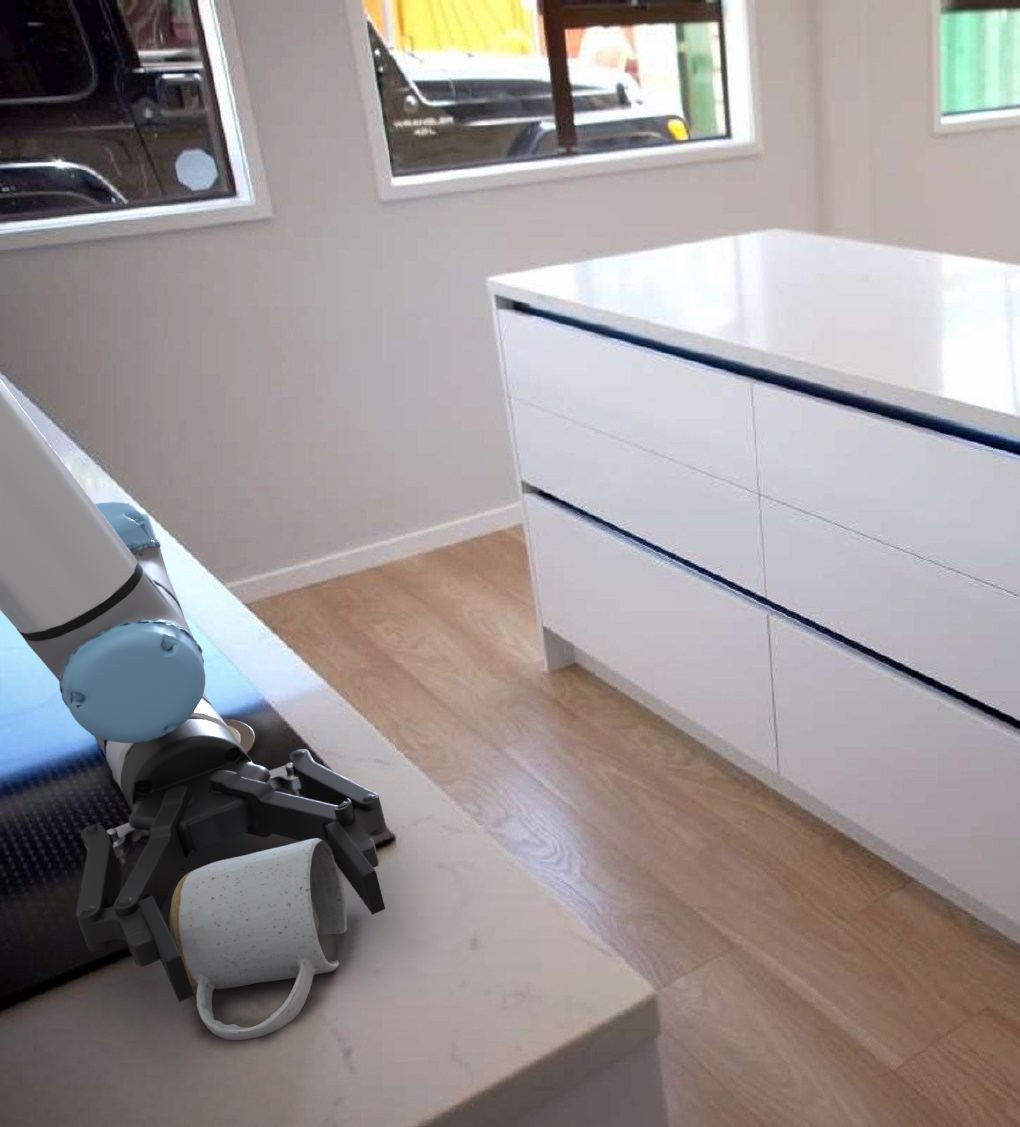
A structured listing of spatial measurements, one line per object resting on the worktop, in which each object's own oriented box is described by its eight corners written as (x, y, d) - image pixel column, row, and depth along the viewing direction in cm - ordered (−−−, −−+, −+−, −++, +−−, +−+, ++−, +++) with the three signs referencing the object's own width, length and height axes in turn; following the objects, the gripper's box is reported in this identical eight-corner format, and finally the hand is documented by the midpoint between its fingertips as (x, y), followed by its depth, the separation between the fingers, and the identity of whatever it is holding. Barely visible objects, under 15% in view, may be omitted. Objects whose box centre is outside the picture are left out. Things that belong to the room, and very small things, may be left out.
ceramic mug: (215, 937, 79) (182, 837, 76) (353, 912, 81) (326, 812, 78) (175, 1066, 70) (135, 958, 67) (332, 1035, 72) (300, 928, 68)
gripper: (356, 752, 94) (483, 899, 78) (11, 883, 82) (75, 1090, 66) (334, 663, 91) (461, 796, 75) (-29, 785, 79) (29, 977, 63)
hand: (281, 934), depth 70 cm, fingers closed on ceramic mug, 10 cm apart
